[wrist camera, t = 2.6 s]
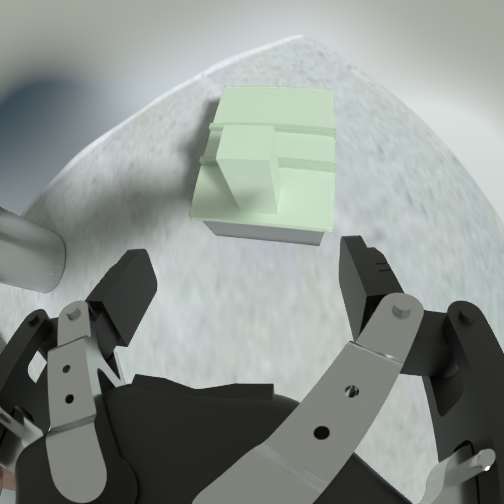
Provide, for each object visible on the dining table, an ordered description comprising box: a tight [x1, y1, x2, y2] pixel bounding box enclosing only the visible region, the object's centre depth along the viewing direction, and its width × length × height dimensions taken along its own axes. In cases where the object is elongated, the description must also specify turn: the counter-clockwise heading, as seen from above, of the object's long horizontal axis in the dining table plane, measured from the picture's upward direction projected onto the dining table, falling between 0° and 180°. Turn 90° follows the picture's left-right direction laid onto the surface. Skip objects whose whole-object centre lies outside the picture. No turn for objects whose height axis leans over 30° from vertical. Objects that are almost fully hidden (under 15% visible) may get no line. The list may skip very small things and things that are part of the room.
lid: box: [188, 86, 336, 233], centre depth 20 cm, size 12×16×9 cm
